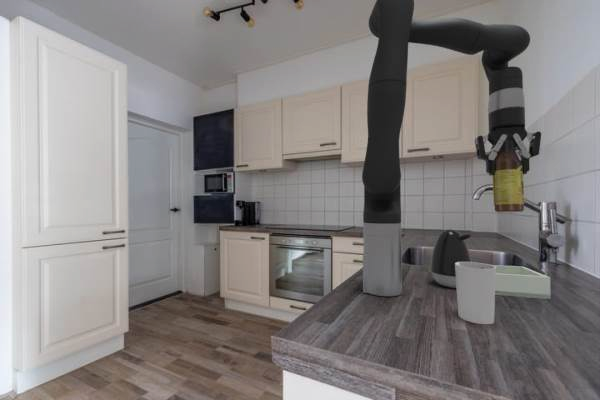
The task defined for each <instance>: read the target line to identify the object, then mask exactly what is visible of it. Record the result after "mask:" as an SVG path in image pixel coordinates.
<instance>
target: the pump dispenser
mask: <svg viewBox="0 0 600 400" xmlns="http://www.w3.org/2000/svg"><path fill="white" fill-rule="evenodd" d="M470 238H472V235H471V234H470V233H466V234H462V235H461V233H460V232H458V231H457V230H455V229H451V228H450V229H444V230H443V231H442V232H441V233H440V234H439V235H438V237H437V238H436V241H435V243H434V246H433V249H432V253H431V256H430V257H431V259H430V263H429V265H430V266H429V267H430V268H429V270H430V272H431V275H432V278H433V279H434V280H435V282H436V283H437V284H439V285H441V286H443V287H446V288H453V289H457V287H456V273H455V263H456V262H473V261H472V258H471V257H472V256H471V253H470V250H469V248H468V245H467V242H466V241H465V240H467V239H470Z"/></svg>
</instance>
